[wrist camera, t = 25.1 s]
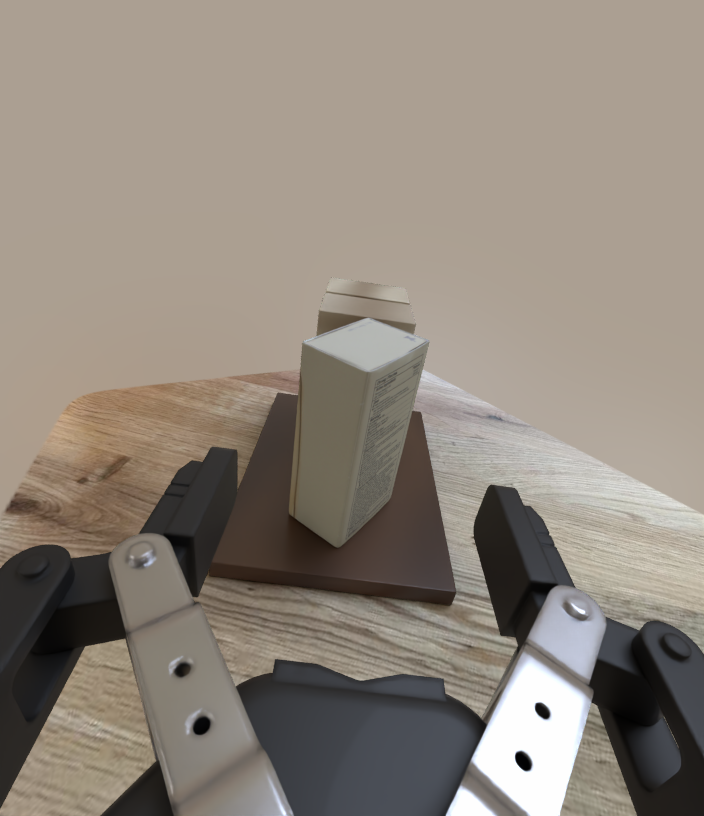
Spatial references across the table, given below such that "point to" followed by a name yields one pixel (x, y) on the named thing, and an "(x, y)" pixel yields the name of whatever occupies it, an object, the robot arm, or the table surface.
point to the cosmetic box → (352, 424)
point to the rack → (381, 536)
